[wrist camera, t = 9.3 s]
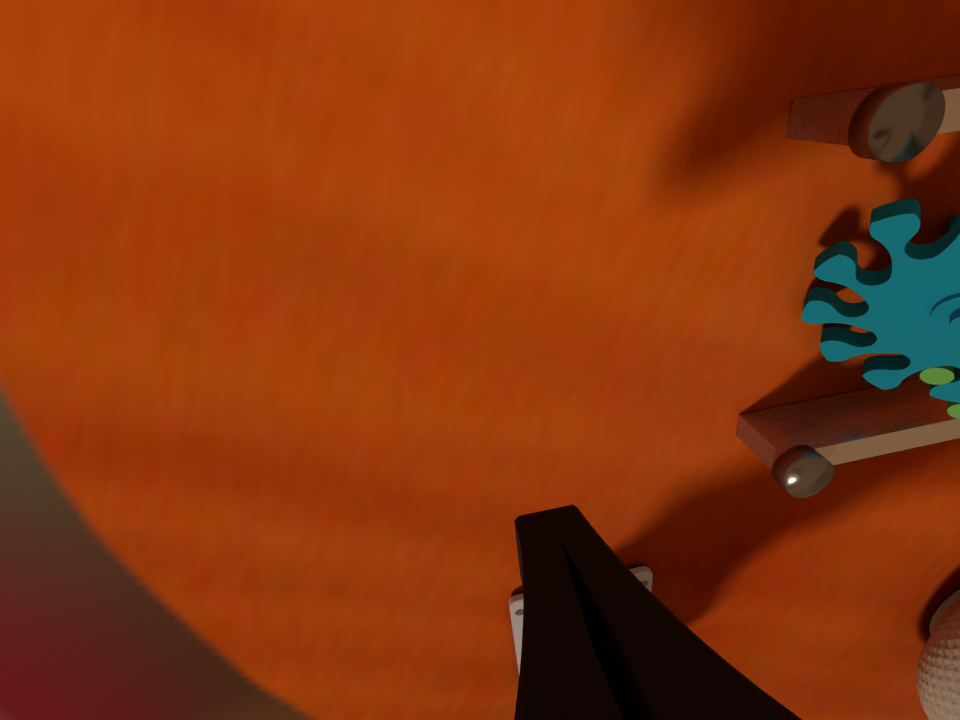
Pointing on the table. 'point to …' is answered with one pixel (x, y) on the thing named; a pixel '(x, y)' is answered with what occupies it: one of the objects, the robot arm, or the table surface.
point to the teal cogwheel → (896, 305)
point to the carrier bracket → (874, 412)
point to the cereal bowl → (941, 663)
